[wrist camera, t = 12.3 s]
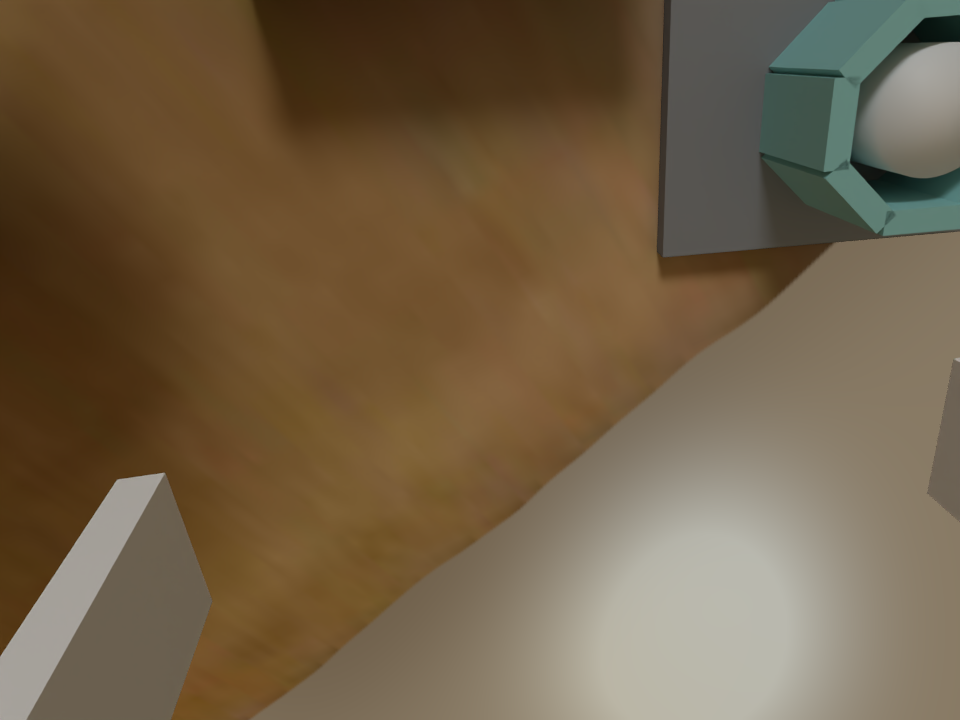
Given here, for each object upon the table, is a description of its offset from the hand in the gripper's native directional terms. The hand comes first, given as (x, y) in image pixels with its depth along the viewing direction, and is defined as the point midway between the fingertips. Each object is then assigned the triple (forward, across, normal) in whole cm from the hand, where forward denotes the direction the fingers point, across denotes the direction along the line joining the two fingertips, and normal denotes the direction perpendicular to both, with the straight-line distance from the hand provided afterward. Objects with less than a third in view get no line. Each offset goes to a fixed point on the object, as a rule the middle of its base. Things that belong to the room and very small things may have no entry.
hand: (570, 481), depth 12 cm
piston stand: (+24, +18, +2) cm, 30 cm away
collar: (+23, +18, +2) cm, 29 cm away
